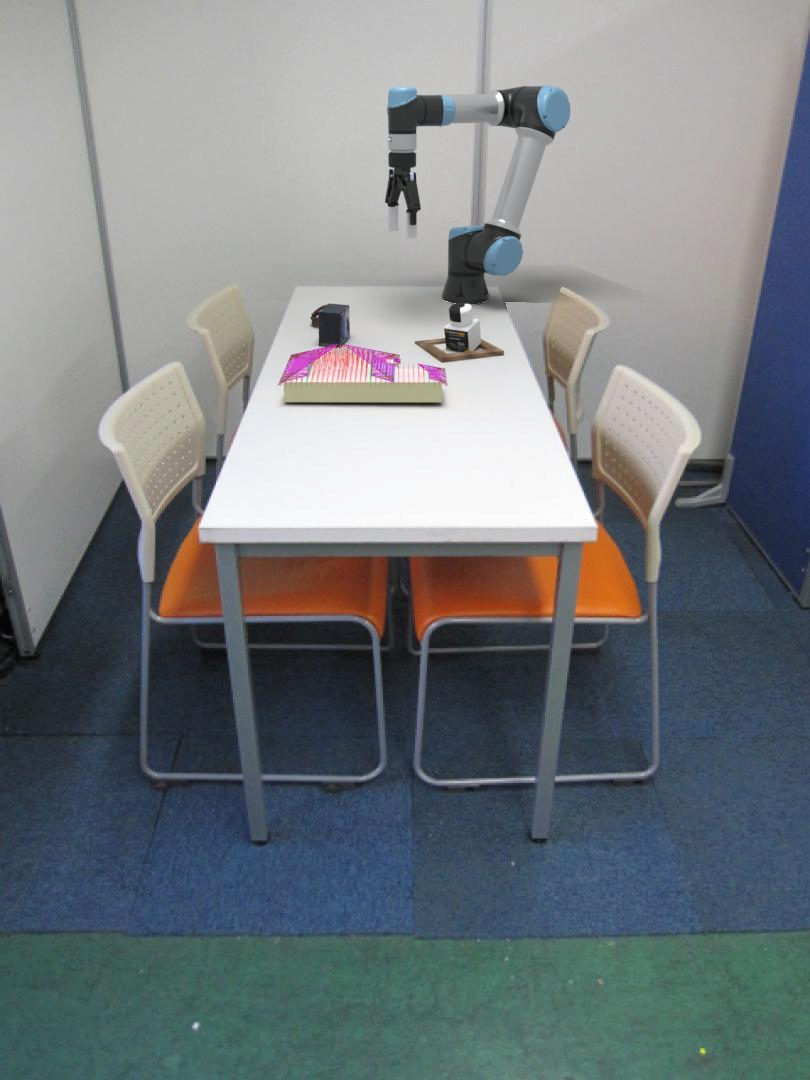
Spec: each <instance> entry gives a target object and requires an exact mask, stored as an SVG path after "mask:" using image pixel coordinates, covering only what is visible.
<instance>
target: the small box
mask: <svg viewBox="0 0 810 1080" xmlns="http://www.w3.org/2000/svg"><path fill="white" fill-rule="evenodd" d="M325 305H326V306H325V307H323V308H322V309H321V310H319V311H318V316H317V317H318V327H317V328H318V347H320V348H323V347H328V346H331V347H332V345H337V346H336V347H337V349H341V348H343V347H344V345H345V344H346V343H347V342H348V341H349V340H350V338H351V332H350V331H351V326H350V324H351V323H350V320H351V318H350V316H351V315H350V304H339V303H327V304H325ZM340 345H341V347H340ZM333 347H334V346H333ZM333 349H335V347H334V348H333Z"/></svg>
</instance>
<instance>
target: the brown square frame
mask: <svg viewBox="0 0 810 1080" xmlns="http://www.w3.org/2000/svg"><path fill="white" fill-rule="evenodd" d="M443 344H445V345H446V341H445V337H444V338H443V337H442V338H434V339H433V338H432V339H424V340H423V339H422V340H414V345H416V346H417V347H419V348H421V349H422V350H424V352H426V353H427V354H429V355H430V356H432V357H433V358H435V359H436V360H437V361H439V362H440V363H441V364H442V363H452V362H458V361H459V362H460V361H469V360H475V359H484V358H485V359H486V358H492V357H500V356H501V357H502V356H504V355H505V350H504V349H501V348H499V347H497V346H495V345H493V344H492V343H490V342H488V341H486V340H484V339H482V338H481V344H480V345H479V346H478V347H477V348H480V349H477V350H474V351H468V352H451V353H447V352H445V351H444V350H442V349H440V348H439V347H437V346H436V345H443Z"/></svg>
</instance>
